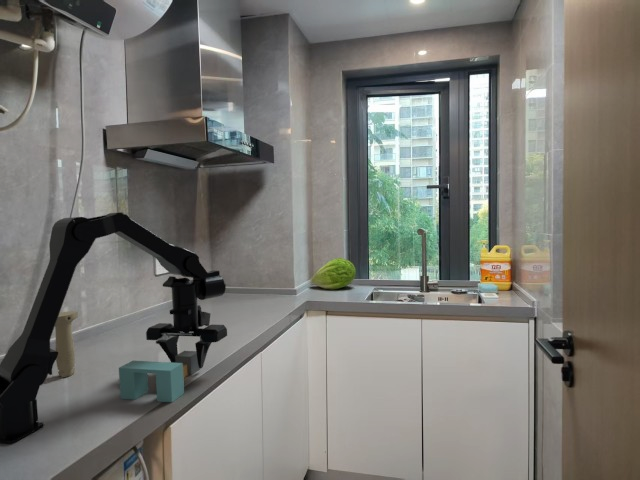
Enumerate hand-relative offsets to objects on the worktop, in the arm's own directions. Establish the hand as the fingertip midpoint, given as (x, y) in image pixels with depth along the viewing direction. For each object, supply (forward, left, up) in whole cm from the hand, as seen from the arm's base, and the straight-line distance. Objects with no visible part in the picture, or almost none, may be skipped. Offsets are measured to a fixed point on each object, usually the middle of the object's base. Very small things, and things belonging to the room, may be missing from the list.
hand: (188, 367), depth 103 cm
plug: (-4, 0, -1) cm, 4 cm away
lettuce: (+120, -11, -1) cm, 121 cm away
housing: (-14, 0, -1) cm, 14 cm away
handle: (-7, +29, -1) cm, 30 cm away
